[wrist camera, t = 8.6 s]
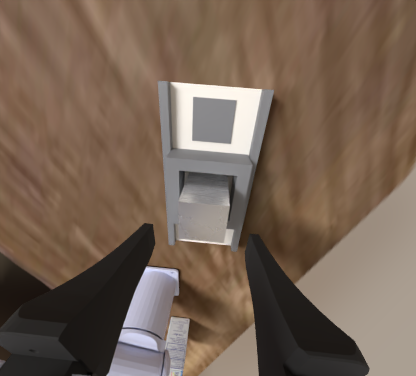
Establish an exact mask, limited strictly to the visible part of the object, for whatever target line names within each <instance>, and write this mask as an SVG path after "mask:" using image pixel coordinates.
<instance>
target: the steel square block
mask: <svg viewBox="0 0 416 376" xmlns="http://www.w3.org/2000/svg"><path fill="white" fill-rule="evenodd" d="M229 208H230V203H229V190H228V178H227V175H222V174H211V173H200V172H189V175H188V177H187V180H186V182H185V185H184V187H183V190H182V193H181V195H180V198H179V200H178V219H179V239H187V240H198V241H209V242H219V243H224V240H225V234H226V227H227V221H228V215H229Z"/></svg>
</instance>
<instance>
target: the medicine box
mask: <svg viewBox="0 0 416 376" xmlns="http://www.w3.org/2000/svg"><path fill="white" fill-rule="evenodd" d="M189 322H190V319H188V318H182V317H174V316H172V317H171V321H170V326H169V330H168V335H167V340H166V346H165V349H166V350H168V351H169V355H170V359H171V365H170V374H169V376H182V375H183V369H184V363H185V355H186V347H187V339H188V331H189Z"/></svg>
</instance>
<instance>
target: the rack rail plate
mask: <svg viewBox="0 0 416 376" xmlns="http://www.w3.org/2000/svg"><path fill="white" fill-rule="evenodd" d="M158 90H159V105H160V120H161V135H162V150H163V164H164V179H165V194H166V209H167V224H168V238H169V245H175V242H176V240H182V241H192V242H202V243H211V244H221V245H231V251H236V252H237V248H238V244H239V239H240V235H241V231H242V226H243V222H244V218H245V214H246V209H247V205H248V201H249V196H250V192H251V188H252V183H253V179H254V175H255V170H256V166H257V162H258V158H259V153H260V149H261V145H262V140H263V136H264V132H265V127H266V123H267V119H268V114H269V110H270V106H271V102H272V97H273V93H274V90H266V89H263V90H261V89H249V88H236V87H224V86H212V85H199V84H187V83H174V82H166V81H158ZM189 172H200V173H211V174H222V175H227V178H228V190H229V203H230V208H229V215H228V221H227V227H226V234H225V240H224V243H219V242H209V241H198V240H187V239H179V219H178V200H179V198H180V195H181V193H182V190H183V187H184V185H185V182H186V180H187V177H188V175H189Z"/></svg>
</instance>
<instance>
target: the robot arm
mask: <svg viewBox="0 0 416 376" xmlns="http://www.w3.org/2000/svg"><path fill="white" fill-rule="evenodd" d="M154 246H155V238H154V230H153V224H147V223H144V224H143V225H142V226H141V227H140V228H139V229H138V230H137V231H136V232H134V233H133V234H132V235H131V236H130V237H129V238H128V239H127V240H126V241H124V242H123V243H122V244H121V245H120V246H119V247H117V248H116V249H115V250H114V251H112V252H111V253H110V254H109V255H107V256H106V257H105V258H103V259H102V260H101V261H99V262H98V263H96V264H95V265H93V266H92V267H90V268H89V269H87V270H86V271H84V272H82V273H81V274H79V275H78V276H76V277H74V278H73V279H71V280H69V281H67V282H66V283H64V284H62V285H60V286H58V287H57V288H55V289H53V290H51V291H49V292H47V293H45V294H43V295H41V296H39V297H37V298H35V299H33V300H31V301H29V302H27V303H25V304H23V305H22V306H21V307H20V308H19V309H18V310H17V311H16V312H15V313H14V314H13V315H12V316H11V317H10V319H8V321H7V322H6V323H5V324H4V325H3V326H2V327H1V328H0V345H1V346H2V347H4V348H5V349H6V350H8V351H9V352H11V353H12V354H11V356H10V357H9V358H8V359H7V361H6V362H5V361H2V360H0V376H169V374H170V365H171V359H170V355H169V351H168V350H166V349H165V346H166V341H164V337H165V332H166V328H167V324H168V319H169V315H170V311H171V306H172V302H173V298H174V296H178V295H179V271H178V270H177V269H168V268H159V267H149V266H147V264H148V262H149V260H150V258H151V255H152V252H153V249H154ZM245 262H246V270H247V275H248V280H249V286H250V291H251V296H252V302H253V309H254V319H255V329H256V340H257V354H258V367H259V368H258V369H259V376H365V375H367V374H368V372H369V367H368V365H367V363H366V361H365V359H364V357H363V355H362V353H361V351H360V350H359V348H358V346H357V345H356V343H355V341H354V340H353V339H351V338H350V337H349V336H348V335H347V334H346V333H344V332H343V331H342V330H341V329H340V328H338V327H337V326H336V325H335V324H334V323H333V322H331V321H330V320H329V319H328V318H327V317H326V316H325V315H323V314H322V313H321V312H320V311H319V310H318V309H317V308H316V307H315V306H314V305H313V304H312V303H311V302H310V301H309V300H308V299H307V298H306V297H305V296H304V295H303V294H302V293H301V292H300V290H299V289H298V288H297V287H296V286H295V285H294V284H293V283H292V281H291V280H290V279H289V278H288V277H287V275H286V274H285V273H284V271H283V270H282V269H281V268H280V266H279V265H278V264H277V262H276V261H275V259H274V258H273V256H272V255H271V254H270V252H269V250H268V249H267V247H266V246H265V244H264V243H263V241H262V239H261V238H260V236H259V235H258V234H250V235H249V239H248V243H247V246H246V250H245Z"/></svg>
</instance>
